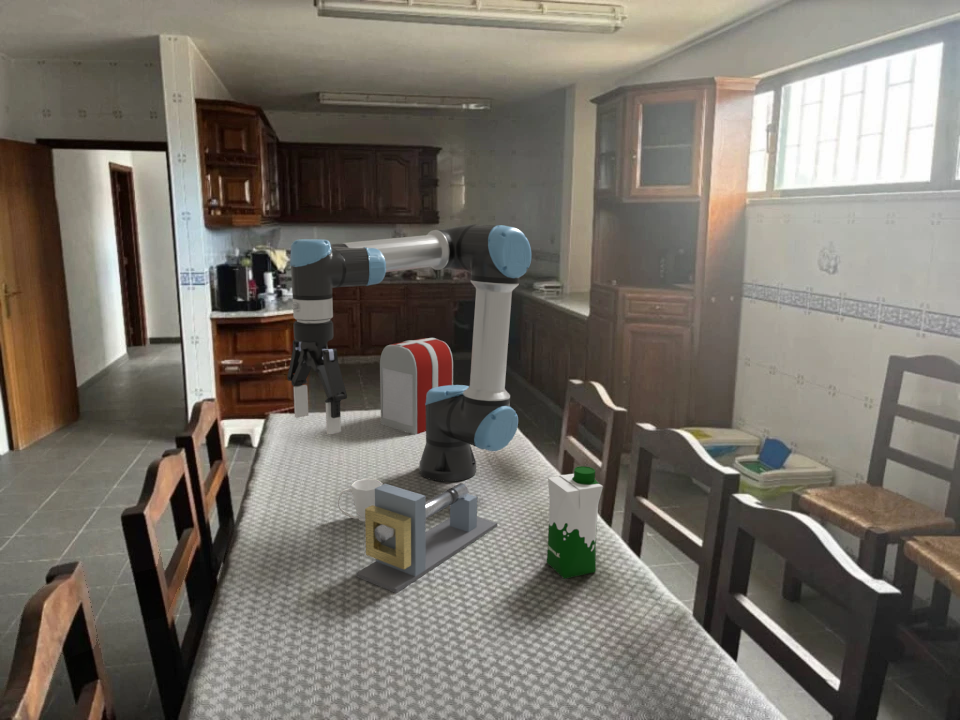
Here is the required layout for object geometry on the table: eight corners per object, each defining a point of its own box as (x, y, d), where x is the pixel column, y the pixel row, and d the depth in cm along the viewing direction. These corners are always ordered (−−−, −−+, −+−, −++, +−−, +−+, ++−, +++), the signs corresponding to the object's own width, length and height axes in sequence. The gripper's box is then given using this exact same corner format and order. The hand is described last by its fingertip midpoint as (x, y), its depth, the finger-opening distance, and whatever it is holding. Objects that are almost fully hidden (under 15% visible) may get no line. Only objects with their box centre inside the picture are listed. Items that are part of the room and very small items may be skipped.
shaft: (456, 494, 153) (456, 481, 152) (468, 498, 151) (468, 484, 150) (374, 539, 132) (374, 524, 131) (387, 544, 130) (386, 529, 129)
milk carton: (602, 573, 137) (608, 476, 133) (561, 582, 133) (566, 483, 129) (578, 553, 145) (583, 460, 140) (539, 561, 141) (543, 466, 137)
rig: (460, 514, 162) (461, 448, 158) (497, 526, 156) (499, 457, 153) (356, 576, 134) (354, 497, 131) (396, 593, 129) (395, 511, 125)
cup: (384, 523, 157) (383, 489, 155) (338, 526, 155) (337, 491, 153) (382, 510, 163) (381, 477, 162) (338, 512, 162) (337, 479, 160)
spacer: (373, 550, 137) (372, 505, 135) (411, 565, 132) (410, 517, 130) (365, 554, 135) (365, 508, 133) (404, 569, 130) (403, 521, 128)
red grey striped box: (379, 423, 227) (377, 341, 222) (418, 412, 241) (418, 334, 235) (415, 435, 217) (415, 348, 211) (454, 422, 230) (454, 341, 224)
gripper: (267, 313, 144) (272, 413, 149) (327, 331, 126) (330, 444, 130) (301, 310, 149) (305, 407, 154) (363, 326, 131) (366, 436, 135)
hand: (317, 424), depth 142 cm, fingers open, 13 cm apart
